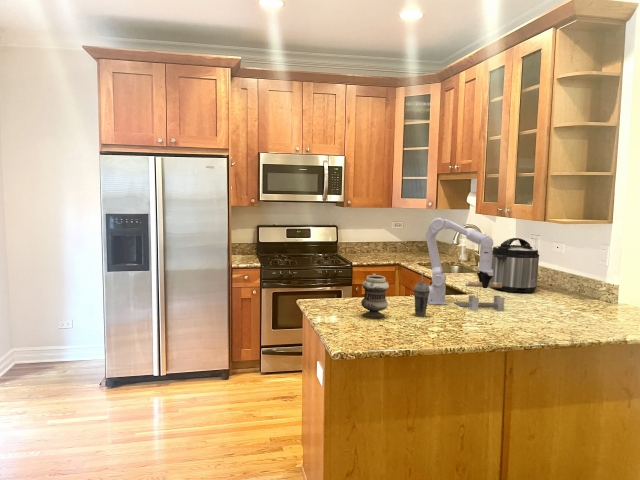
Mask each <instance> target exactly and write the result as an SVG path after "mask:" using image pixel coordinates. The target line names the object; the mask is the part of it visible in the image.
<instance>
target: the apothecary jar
mask: <svg viewBox="0 0 640 480" xmlns="http://www.w3.org/2000/svg"><path fill="white" fill-rule="evenodd" d="M361 286H362V288H363V289H364V297H363V298H362V300H361V301H360V304H361V305H360V306H362V307H363V308H364V309H366V310H368V311H366V312H364V313H362V316H363V317H365V318H368V319H384V318H385V317H386V316H385V314H384V313H382V311H383V310H386V309H387V308H388V306H389V302H388V301H387V300H386V298H387V297H386V295H387V290H389V287H390V285H389V283H388V281H387V280H386V277H385V276H383V275H375V274H369V275H366V279H365V280H364V281H363V282H362V285H361ZM380 311H381V312H380Z"/></svg>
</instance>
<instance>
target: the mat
mask: <svg viewBox="0 0 640 480" xmlns="http://www.w3.org/2000/svg"><path fill="white" fill-rule="evenodd" d="M453 303H454V304H455V305H457V306H458V307H460V308H468V302H467V301H465V302H464V301H462V302H460V301H457V302H456V301H454V302H453ZM493 303H494V302H479V303H478V308H493Z"/></svg>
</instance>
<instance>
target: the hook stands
mask: <svg viewBox="0 0 640 480" xmlns="http://www.w3.org/2000/svg"><path fill="white" fill-rule="evenodd" d="M479 299H480V297H479V296H476V295H474V294H473V295H472V294H471V295H470V294H469V295H468V300H467V301H468V307H467V308H468V309H469V310H470V311H472V312H473V311H477V312H478V311H479V307H478V303H480V302H479ZM492 303H493V307H492V308H493V310H496V311H497V312H504V310H505V297H501V295H493V302H492Z"/></svg>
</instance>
